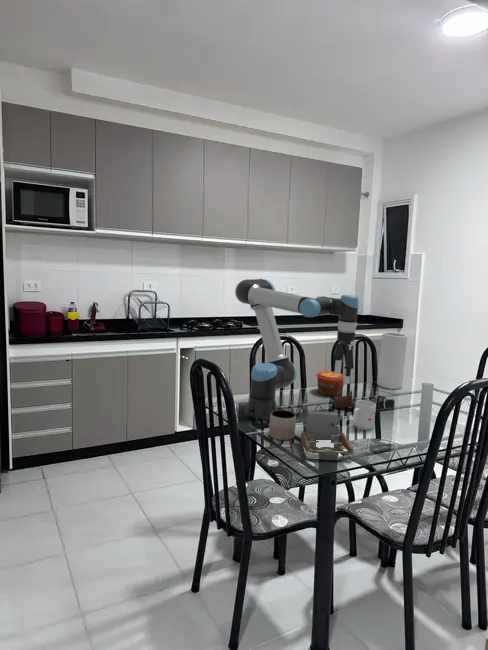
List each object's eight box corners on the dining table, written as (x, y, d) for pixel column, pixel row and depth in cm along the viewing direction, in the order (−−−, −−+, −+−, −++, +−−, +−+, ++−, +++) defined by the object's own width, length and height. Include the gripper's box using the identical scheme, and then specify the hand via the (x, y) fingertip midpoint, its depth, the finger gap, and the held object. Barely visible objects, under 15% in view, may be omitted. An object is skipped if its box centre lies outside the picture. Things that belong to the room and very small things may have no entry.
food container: (317, 387, 262) (319, 369, 261) (345, 391, 258) (347, 373, 256) (312, 395, 247) (314, 375, 246) (342, 399, 243) (344, 380, 241)
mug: (360, 421, 211) (363, 398, 210) (377, 428, 205) (380, 404, 203) (344, 427, 204) (347, 403, 202) (361, 433, 197) (364, 409, 195)
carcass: (306, 459, 170) (307, 446, 169) (300, 443, 184) (301, 431, 183) (351, 461, 170) (353, 448, 169) (342, 444, 184) (343, 433, 184)
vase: (381, 389, 266) (387, 336, 261) (373, 382, 280) (378, 331, 275) (405, 390, 267) (412, 337, 262) (395, 383, 281) (401, 332, 276)
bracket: (371, 409, 221) (368, 388, 224) (335, 412, 225) (333, 391, 228) (370, 410, 227) (368, 390, 230) (336, 412, 231) (333, 392, 233)
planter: (292, 431, 196) (294, 409, 194) (296, 441, 185) (298, 419, 184) (267, 430, 195) (269, 408, 194) (269, 440, 185) (271, 417, 183)
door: (306, 442, 185) (309, 414, 183) (305, 438, 189) (307, 410, 187) (336, 444, 185) (338, 415, 183) (334, 440, 189) (336, 412, 187)
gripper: (364, 337, 185) (359, 387, 189) (346, 326, 210) (341, 371, 213) (346, 336, 184) (341, 386, 188) (330, 325, 209) (326, 370, 212)
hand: (341, 378), depth 201 cm, fingers open, 13 cm apart
